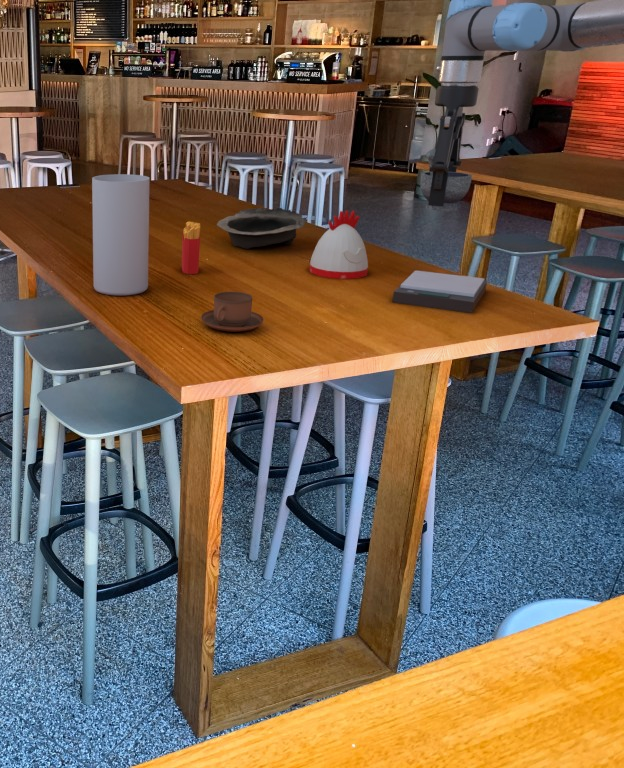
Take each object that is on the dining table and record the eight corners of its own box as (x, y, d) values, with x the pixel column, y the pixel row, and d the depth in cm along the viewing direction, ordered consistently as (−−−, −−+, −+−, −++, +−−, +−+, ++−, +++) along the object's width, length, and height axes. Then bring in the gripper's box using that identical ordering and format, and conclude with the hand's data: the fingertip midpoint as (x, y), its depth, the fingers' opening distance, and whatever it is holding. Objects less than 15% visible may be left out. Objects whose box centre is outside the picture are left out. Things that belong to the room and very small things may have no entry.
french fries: (180, 267, 202) (181, 219, 197) (195, 266, 202) (197, 219, 197) (184, 275, 194) (185, 226, 189) (200, 275, 194) (202, 226, 189)
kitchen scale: (471, 313, 164) (474, 298, 162) (392, 302, 171) (394, 288, 170) (485, 291, 179) (487, 277, 178) (412, 282, 187) (414, 269, 186)
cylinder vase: (154, 295, 177) (155, 180, 168) (99, 298, 175) (98, 182, 165) (140, 281, 188) (141, 173, 179) (89, 284, 186) (87, 175, 177)
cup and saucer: (259, 338, 149) (261, 307, 146) (196, 333, 152) (197, 302, 149) (265, 320, 159) (267, 290, 157) (206, 316, 162) (207, 286, 160)
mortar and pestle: (436, 203, 167) (445, 144, 163) (476, 209, 160) (486, 148, 155) (401, 208, 162) (409, 147, 157) (441, 214, 154) (450, 151, 150)
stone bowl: (304, 237, 234) (307, 206, 230) (302, 262, 212) (306, 228, 208) (220, 232, 239) (222, 202, 235) (211, 256, 217) (212, 223, 213)
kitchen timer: (378, 275, 193) (386, 213, 187) (330, 280, 188) (336, 217, 183) (345, 263, 205) (351, 204, 199) (298, 267, 201) (304, 208, 195)
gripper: (447, 83, 163) (431, 193, 172) (426, 85, 145) (409, 208, 154) (486, 83, 160) (468, 195, 168) (470, 86, 142) (451, 211, 150)
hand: (440, 201), depth 161 cm, fingers closed on mortar and pestle, 10 cm apart
